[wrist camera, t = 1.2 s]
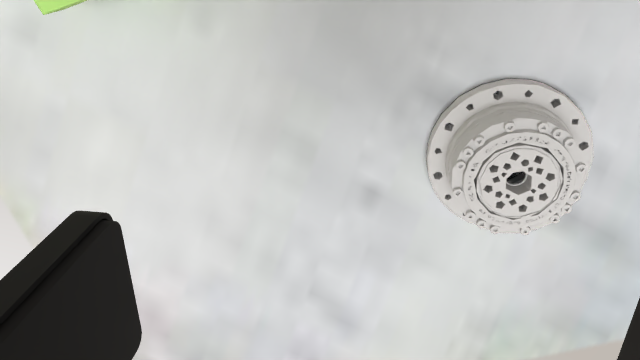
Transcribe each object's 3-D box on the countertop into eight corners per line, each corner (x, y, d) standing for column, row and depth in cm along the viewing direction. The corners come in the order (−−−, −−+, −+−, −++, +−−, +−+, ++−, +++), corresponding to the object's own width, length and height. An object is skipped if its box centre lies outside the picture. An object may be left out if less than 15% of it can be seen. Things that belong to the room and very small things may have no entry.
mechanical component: (622, 127, 33) (487, 46, 31) (653, 156, 29) (501, 65, 27) (518, 241, 37) (397, 174, 36) (533, 280, 33) (398, 206, 32)
